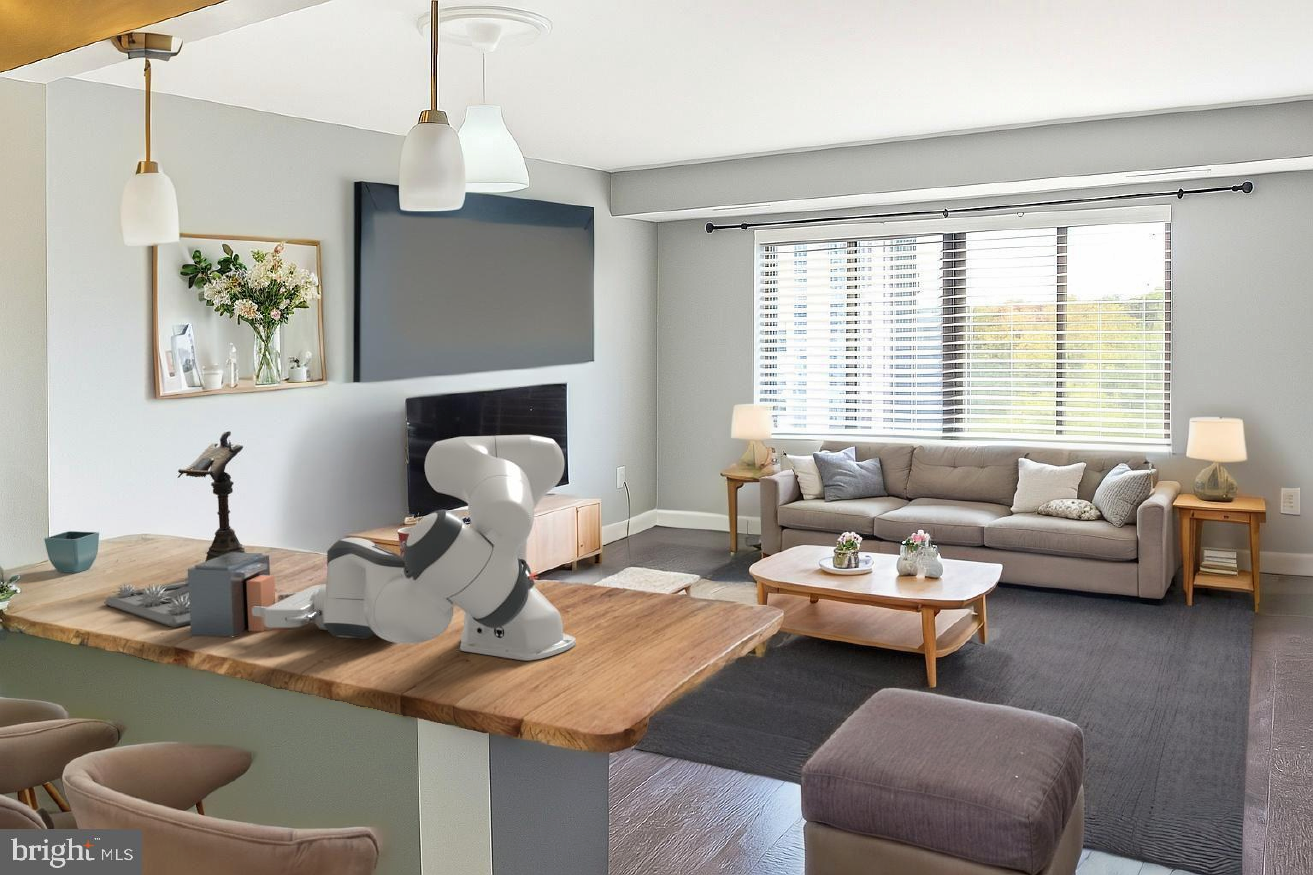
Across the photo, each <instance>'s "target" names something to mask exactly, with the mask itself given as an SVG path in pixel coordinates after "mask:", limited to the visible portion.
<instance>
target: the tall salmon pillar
mask: <svg viewBox="0 0 1313 875" xmlns="http://www.w3.org/2000/svg"><path fill="white" fill-rule="evenodd" d="M246 584H247V604H248V625H249V630H248V632H265V631H266V630H268V629H270V628H269V627H266V626H264V620H263V617H260V616H253V615H252V607H254V606H257V605H264V607H269V606H271V605H273V604H275V603H276V593H275V592H276V590H275V588H276V586H275V576H274V575H271V574H270V575H259V576H257V577H255V578H252V579H250V580H248V581H246Z"/></svg>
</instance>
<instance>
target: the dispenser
mask: <svg viewBox="0 0 1313 875" xmlns="http://www.w3.org/2000/svg"><path fill="white" fill-rule="evenodd" d="M270 568H271V567H270V555H269V554H268V555H267V554H263V553H261V552H245V553H238V552H230V553H227V554H224V555H222V556H219V557H216V558H214V559H211V560H208V561H206V562H205V561H203V562H201V563H198V564H196V565H195V566H193V567H190V568H188V569H187V579H188V580H187V581H188V588H189V606H190V624H189V625H190V636H199V637H200V636H203V637H219V636H235V637H237V636H239V635H241V634H242V632H243V633H244V631H245V632H247V631H249V625H248V604H247V584H246V581H248V580H250V579H252V578H255V577H257V576H259V575H271V569H270ZM240 633H241V634H240ZM238 634H239V635H238ZM236 635H237V636H236Z"/></svg>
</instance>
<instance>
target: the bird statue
mask: <svg viewBox="0 0 1313 875" xmlns="http://www.w3.org/2000/svg"><path fill="white" fill-rule="evenodd" d="M231 435H232V432H231V431H226V432H225V431H224V432H223V433H222V434H221V435H220V438H219V442H220V443H216V442H214V443H213V442H212V443H210V445H208V447H207V448H206V449H205V450H204V451H203V452H202V453H201V454H200V455H199V457H198V458H196V460H195V461H193V462H192V463H191V464H190V465H189V466H187V468H185V469H184V468H183V469H178V470H177V472H178V474H179V475H177V478H180V477H181V476H183V474H185V475H186V477H193V478H206V477H207V476H208V475H209V476H210V478H212V480H213V481H212V482H211V483H210V486H211V487H212V488H213V489H212V493H213V494H214V495H216V497H217V502H218V503H217V504H218V505H217V506H218V508H217V509H218V511H217V512H216V514H217V515H218V521H219V522H218V523H219V524H218V526H219V528H218V529H217V530H216V531H215V532H214V538H213V540H212V543H211V545H210V546H209V548H208V550H207V552H206V558H205V560H204V562H206V561H208V560H211V559H214V558H216V557H219V556H222V555H224V554H227V553H230V552H238V553H246V551H245V548H244V547H242V546H243V544H242V543H241V542H240V541H239V538H238V537H237V534H236V533H235V531H236V530H234V528H231V527H232V526H230V518H229V517H230V515H229V514H230V513H231V510H230V509H229V496H230V494H232V493H233V485H234V481H233V480H231V478H232V477H231V475H230V474H229V473H228V472H226V471H225V470H226V466H227V465H228V464H229V462H230V461H231V460H233V458H235V457H236V456H237V455H238V454H239V453H240V452H241V451H242V450H243V448H244V445H242V444H236V445H235V444H234V443H232V442H231V440H228V438H229V437H230V436H231ZM219 444H220V445H219ZM218 445H219V446H218Z"/></svg>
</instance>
